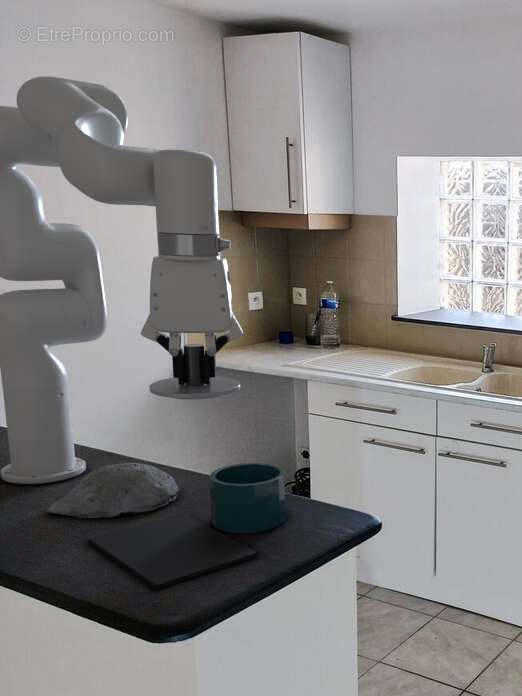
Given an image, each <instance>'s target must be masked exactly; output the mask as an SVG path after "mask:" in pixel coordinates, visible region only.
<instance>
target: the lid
mask: <svg viewBox="0 0 522 696" xmlns="http://www.w3.org/2000/svg"><path fill="white" fill-rule="evenodd" d="M183 352H184V367H185V384H183V385H179V384H178V378H174V377H170V378H164V379H160V380H157V381H153V382H152V383H151V384H149V386H148V390H149V392H150V393H151V394H152V395H155V396H159V397H163V398H170V399H175V400H207V399H213V398H218V397H222V396H226V395H230V394H233V393H236V392H238V391H239V390H240V389H241V382H240V381H239V380H237V379H234V378H230V377H226V376H225V377H224V376H216V377H212V381H211V383H210V385H206V384H204V368H203V356H204V354H205V344H203V343H186V344H183Z"/></svg>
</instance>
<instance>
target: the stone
mask: <svg viewBox="0 0 522 696" xmlns="http://www.w3.org/2000/svg"><path fill="white" fill-rule="evenodd" d="M180 490H181V488H180V486H179V485H177V482H176V480H175V478H173V477H172V476H171V475H169V474H168V473H166V472H165V471H163V470H161V469H159V468H157V467H155V466H153V465H149V464H144V463H138V462H124V463H117V464H109V465H108V464H107V465H104V466H101V467H99V468H96V469H94V470H92V471H91V472H89V473H88V474H87V475H85V476H84V477H83V479H81V480H80V481H79V483H77V484H76V485H75V486H74V487H73V488H72V490H70V491H69V492H68V493H67V494H66V495H64V496H63V497H61V498H60V499H58V500H57V501H56V502H54V503H53V504H52V505H51V506H49V507H48V508H47V509H46V512H49V513H51V514H57V515H58V514H59V515H60V516H71V517H76V518H81V519H85V518H87V519H99V518H105V519H106V518H107V519H108V518H115V517H118V516H120V514H124V513H126V514H128V513H145V512H152V511H156V509H159V508H163V507H165V506H167V505H168V504H169V503H171V502H174V501H175V500H176V498H177V497H178V495H179V492H180Z"/></svg>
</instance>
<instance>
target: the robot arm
mask: <svg viewBox="0 0 522 696" xmlns="http://www.w3.org/2000/svg"><path fill="white" fill-rule="evenodd" d="M128 125H129V112H128V110H127V106H126V104H125V102H124V100H123V98H122V97H121V96H120V95H119V94H118V93H117V92H116V91H115V90H114V89H112V88H110V87H108V86H106V85H103V84H100V83H99V84H98V83H93V82H87V81H80V80H75V79H69V78H62V77H58V76H57V77H56V76H37V77H33V78H30V79H29V80H27V81H24V83H23V84H21V86H20V87H19V89H18V91H17V93H16V107H15V106H9V105H8V106H7V105H0V278H1V279H4V280H6V281H12V282H47V281H62V283H63V285H64V287H62V288H61V287H60V288H35V289H34V288H33V289H18V290H17V289H16V290H12V291H7V292H3V293H1V294H0V377H1V378H0V379H1V387H2V394H3V403H4V414H5V421H6V423H5V424H6V433H7V443H8V450H9V460H10V461H9V462H10V464H9V463H8V464H7V465H5V466H4V467H2V468H1V470H0V478H1V479H2V480H3V481H5V482H8V483H11V484H19V485H38V484H39V485H40V484H49V483H53V482H54V483H55V482H60V481H64V480H65V481H66V480H68V479H71V478H74V477H76V476H79V475H81V474H82V473H84V472H85V471H86V469H87V463H86V461H85V460H84V459H82V458H80V457H76V454H75V442H74V440H75V439H74V431H73V429H74V428H73V419H72V407H71V396H70V383H69V376H68V375H69V374H68V371H67V369H66V367H65V365H64V363H63V362H62V361H61V360H60V359H59V358H58V357H57V356H56V355H55V354H54V353H53V352H52V350H51V349H50V348H51V347H55V346H56V347H57V346H60V345H61V346H62V345H69V344H70V345H71V344H80V343H88V342H93V341H96V340H99V339H100V338H102V336H104V334H105V333H106V331H107V326H108V308H107V300H106V293H105V285H104V278H103V271H102V261H101V257H100V256H101V255H100V252H99V251H100V250H99V248H98V245H97V243H96V241H95V238H94V237H93V235H92V234H91V233H90V232H89V231H88V230H87V228H85V227H83V226H81V225H78V224H73V223H64V222H63V223H61V222H60V223H58V222H48V221H47V219H46V215H45V210H44V209H45V208H44V202H43V197H42V193H41V192H40V190H39V188H38V186H37V185H36V184H35V182H34V181H33V180H32V179H31V178H30V177H29V176H28V174H26V173H25V172H24V171H23V170H22V169H21V168H20V167H19V166H18V165H27V166H37V167H49V168H60V170H61V173H62V175H63V177H64V178H65V180H66V181H67V182H68V183H69V184H70V185H72V186H73V187H74V188H75V189H76V190H78V191H79V192H80V193H81V194H84V195H85V196H86V197H88V198H89V199H92V200H94V201H96V202H98V203H102V204H106V205H115V206H117V205H119V206H148V207H155V220H156V238H157V239H156V240H157V253H158V254H157V256H153V257H152V262H151V268H150V278H149V279H150V281H149V314H148V316H147V318H146V320H145V322H144V325H142V329H141V330H140V335H141V336H142V337H143V338H146V339H147V340H151V341H153V342H155V343H157V344H158V345H160V347H162V348H163V349H164V350H166V351H167V352H168V354H169V355H170V356H171V358H172V360H171V361H172V376H173V377H172V378H178V384H179V385H183V384H185V367H184V348H182V334H204V341H205V349H204V356H203V368H204V384H206V385H210V383H211V381H212V377H217V361H216V359H217V357H216V356H217V355H216V354H217V353H218V352H219V351H220V350H222V349H223V347H225V346H226V345H227V344H228V343H230V342H233V341H236V340H237V339H239V338H241V337H243V334H244V331H243V329H242V326H241V325H240V323H239V321H238V320H237V318H236V317H235V314H234V309H233V308H234V307H233V297H232V296H233V295H232V288H231V287H232V286H231V285H232V284H231V277H230V271H229V267H228V262H227V259H226V258H224V257H220V255H221V253H222V252H226V251H231V240H229V239H228V240H227V239H225V238H222V237H220V234H219V232H220V231H219V208H218V207H219V206H218V181H217V165H216V162H215V159H214V157H213V156H211V154H210V153H209V154H208V153H206V152H203V151H197V150H186V149H155V148H146V147H138V146H129V145H123V144H124V141H125V140H124V138H125V134H126V131H127V130H128ZM219 333H220V335H219V336H218V337H217V334H219ZM221 333H223V334H221ZM167 334H168V335H167Z"/></svg>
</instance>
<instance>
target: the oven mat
mask: <svg viewBox="0 0 522 696" xmlns="http://www.w3.org/2000/svg"><path fill="white" fill-rule="evenodd" d="M88 543H89V544H90V545H92V546H93V547H94V548H96V549H97V550H99V551H100V552H102V553H104V554H105V555H106V556H108V557H109V558H110V559H112V560H113V561H115V562H116V563H118V564H120V565H121V566H122V567H124V568H125V569H126V570H128V571H130V572H131V573H132V574H133V575H135V576H137V577H138V578H140V579H141V580H142V581H144V582H145V583H147V584H148V585H150V586H151V587H152V588H154V589H156V590H159V589H162V588H164V587H168V586H171V585H174V584H177V583H180V582H183V581H186V580H189V579H193V578H195V577H198V576H202V575H205V574H208V573H211V572H214V571H217V570H221V569H223V568H226V567H229V566H230V567H231V566H232V565H236V564H238V563H242V562H245V561H248V560H251V559H254V558H257V557H258V552H257V551H255V550H254V549H251V548H249V547H248V546H246V545H244V544H242V543H240V542H239V541H237V540H235V539H233V538H231V537H229V536H227V535H226V534H223V533H222V532H221V531H219V530H217V529H216V528H213V527H211V526H209V525H207V524H206V523H204V522H202V521H200V520H198V519H196V518H194V517H193V516H191V515H189V514H187V513H183V514H178V515H175V516H170V517H167V518H163V519H158V520H155V521H151V522H147V523H144V524H141V525H137V526H136V525H135V526H133V527H128V528H125V529H121V530H118V531H113V532H110V533H105V534H101V535H98V536H94V537H90V538H88Z"/></svg>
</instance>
